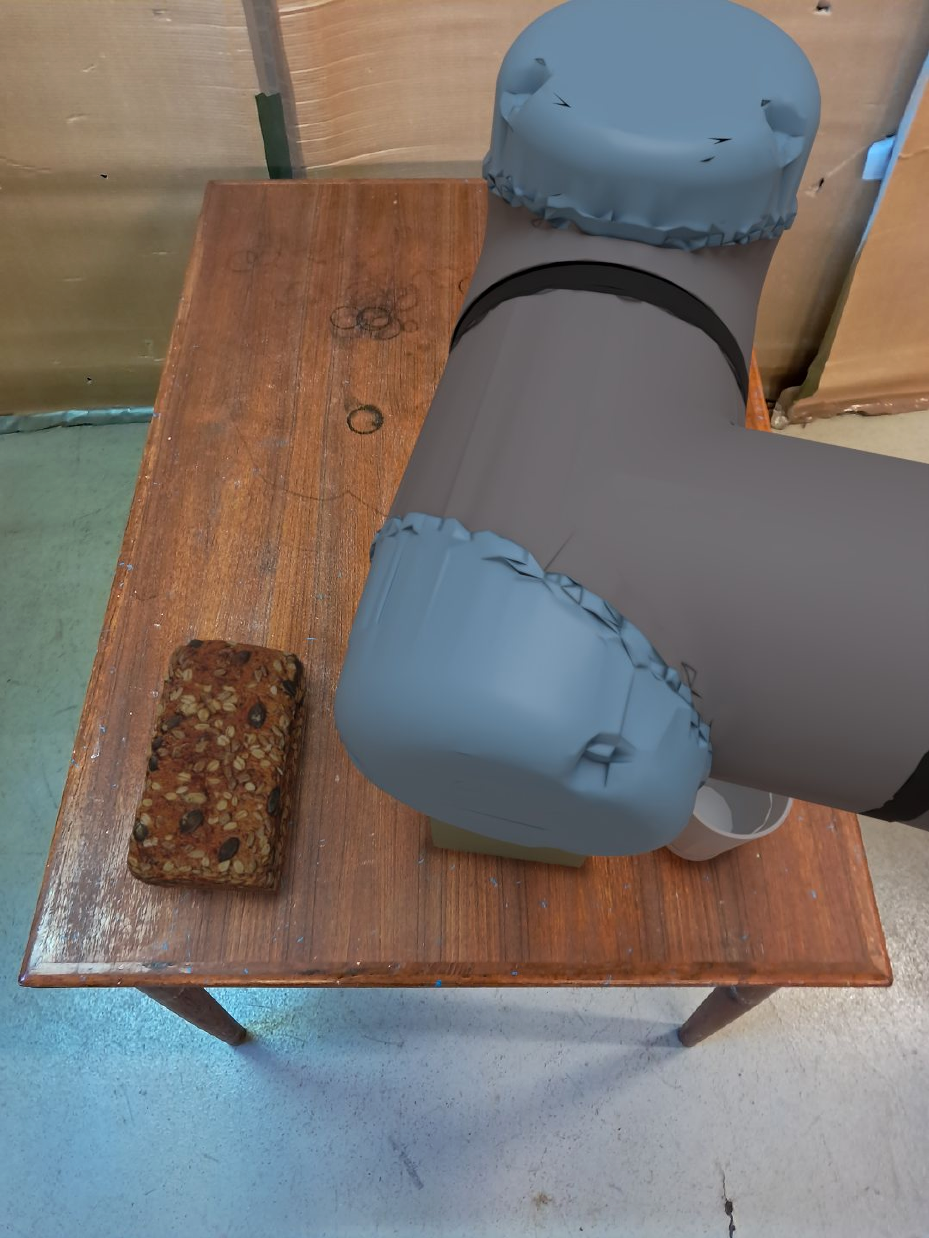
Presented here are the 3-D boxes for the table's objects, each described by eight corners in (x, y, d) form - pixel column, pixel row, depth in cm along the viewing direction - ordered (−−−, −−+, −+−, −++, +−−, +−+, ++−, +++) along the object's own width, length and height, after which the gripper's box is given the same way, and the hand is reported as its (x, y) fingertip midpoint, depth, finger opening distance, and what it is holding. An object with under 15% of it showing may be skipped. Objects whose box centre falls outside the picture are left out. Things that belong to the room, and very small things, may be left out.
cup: (741, 878, 66) (795, 847, 55) (641, 862, 66) (676, 828, 56) (741, 782, 69) (792, 736, 59) (647, 768, 70) (680, 719, 59)
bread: (201, 678, 74) (166, 628, 65) (319, 684, 73) (299, 635, 64) (153, 893, 65) (104, 870, 56) (286, 902, 65) (258, 880, 56)
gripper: (506, 309, 36) (490, 578, 56) (447, 672, 28) (453, 829, 48) (680, 326, 35) (599, 591, 56) (670, 701, 27) (580, 846, 48)
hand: (531, 701), depth 52 cm, fingers closed on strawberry, 4 cm apart
